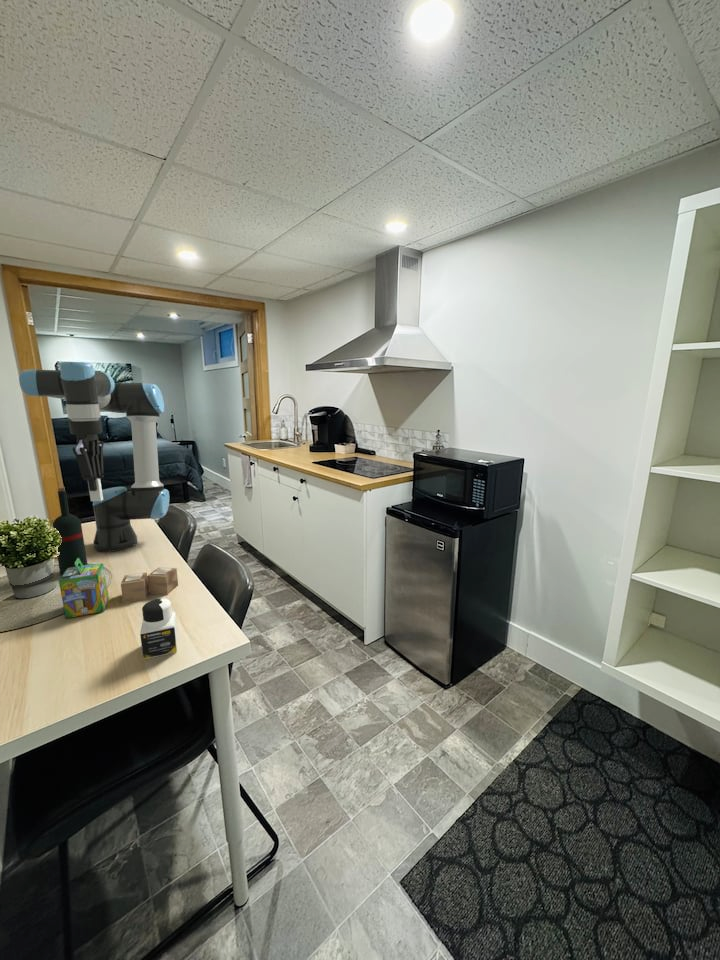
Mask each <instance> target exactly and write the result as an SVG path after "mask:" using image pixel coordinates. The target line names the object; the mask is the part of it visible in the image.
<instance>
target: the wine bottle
mask: <svg viewBox="0 0 720 960" xmlns="http://www.w3.org/2000/svg"><path fill="white" fill-rule="evenodd" d="M57 495H58V503H59V509H60V513H61V514H60V515H59V516H58V517H56V518H55V520H54V521H53V522H52V528H53V527H54V528H56V529H57V530H58V531H59V533H60V535H61V537H62V543H61V545H60V546H59V547H58V552H60V555H59V556H57V555H56V556H57V561H58V562H57V563H58V570H59V575H60V577H61V576H62V575H63V574H64V572H65V571H66V569H67V568H72V567H75V564H74V563H75V561H76V560H77V558H79V559H80V561H81V562H82V564H83V565H89V564H88V560H87V559H88V558H87V553H86V552H87V551H86V547H85V546H86V545H85V540H84V532H83V528H82V527H83V526H82V520H80V518H79V517H77V515H74V514H71V513H70V508H69V502H68V495H67V490H66V488H65V486H59V487H57ZM79 566H80V564H79V563H78V567H79Z"/></svg>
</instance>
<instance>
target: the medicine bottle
mask: <svg viewBox="0 0 720 960" xmlns="http://www.w3.org/2000/svg"><path fill="white" fill-rule="evenodd" d="M141 611H142V622H141V627H140V631H139V632H140V633H139V635H140V643H141V652H142V653H141V654H142V659H143V660H145V661H146V660H149V659H154V658H158V657H162V656H167V655H171V654H176V653H177V652H178V639H179V637H178V626H177V617H176V615H177V614H176V611H172V602H171V600H170V599H168V598H155V599H152V600H149V601H147V602H146V603H145V604H143V606H142V609H141Z"/></svg>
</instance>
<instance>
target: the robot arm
mask: <svg viewBox="0 0 720 960" xmlns="http://www.w3.org/2000/svg"><path fill="white" fill-rule="evenodd" d="M18 381H19V382H18V384H19V387H20V389H21V391H22V392H23V393H24V394H25V395H27V396H28V397H29V396H30V397H38V398H40V397H48V398H54V399H61V400H65V401H64V402H65V406H66V407H64V408H65V411H66V412H67V418H68V419H69V421H68V428H69V432H70V434H71V435H74V436H76V444H77V446H74V447H72V449H71V450H72V451H73V454H74V456H75V458H76V462H77V465H78V467H79V468H78V469H79V472H80V474H81V478H82V480H83V481H87V484H88V493H89V498H90V502H92V507H93V508H92V509H93V513H94V521H95V527H96V531H95V535H94V538H93V544H92V545H93V549H94V550H95V551H97V552H106V553H107V552H108V553H109V552H115V551H121V550H126V549H128V548H130V547H133V546H135V545H136V544H137V543H138V536H137V534H136V531H135V530H134V528H133V526H132V525H131V521H134V520H149V519H151V520H154V519H162V518H164V517H165V516H166V514H167V512H168V510H169V506H170V491H169V490H168V489H166V488H164V486H165V485H164V483H162V482H161V480H160V473H159V469H160V468H159V454H158V453H159V452H158V442H157V441H158V439H157V438H158V437H157V421H158V420H159V419H160V417H161V416H160V415H161V414H163V413H164V412H165V401H164V397H163V394H162V391H161V389H160V388H159V386H158V385H157V384H154V383H150V382H149V383H148V382H115V381H114V379H113V377H112V376H111V375H110V374H108V373H106V372H105V371H101V370H95V369H94V366H93V364H92V363H90V362H81V361H62V362H61V363H60V364H59V370H57V369H55V370H54V369H38V368H35V369H24V370H22V371H21V372H20V374H19V377H18ZM101 411H104V412H105V411H106V412H110V413H115V414H116V413H117V414H125V415H126V416H125V417H126V419H128V421H130V423H131V424H130V425H131V436H132V437H131V438H132V440H131V441H132V453H133V471H134V483H133V484H132V485H131V487H130V489H131V490H128V488H127V487H126V486H115V487H109V488H105V489H102V483H101V481H102V480H101V479H103V478H104V477H105V475H104V450H103V449H104V445H105V444H104V441H100V440H99V436H98V435H99V434H102V433H103V425H102V420H101V419H100V418H101ZM134 544H135V545H134Z"/></svg>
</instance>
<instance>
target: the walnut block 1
mask: <svg viewBox="0 0 720 960" xmlns="http://www.w3.org/2000/svg"><path fill="white" fill-rule="evenodd" d="M147 576H148V572H139V573H134V574H133V573H131V574H126V575H124V576H123V578H122V580H121V582H120V588H121V589H120V590H121V591H120V592H121V599H122V603H129V602H135V601H141V600H142V601H143V600H147V596H148V594H149V588H148V579H147Z"/></svg>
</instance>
